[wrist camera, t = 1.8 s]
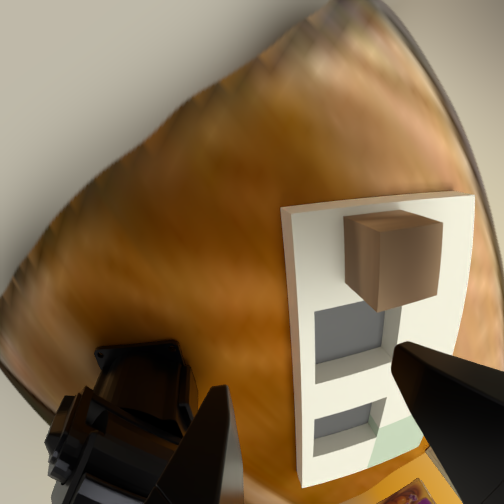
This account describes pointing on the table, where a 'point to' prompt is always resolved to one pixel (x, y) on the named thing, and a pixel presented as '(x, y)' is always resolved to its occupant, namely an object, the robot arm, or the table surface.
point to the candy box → (410, 495)
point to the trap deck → (362, 333)
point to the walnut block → (392, 257)
